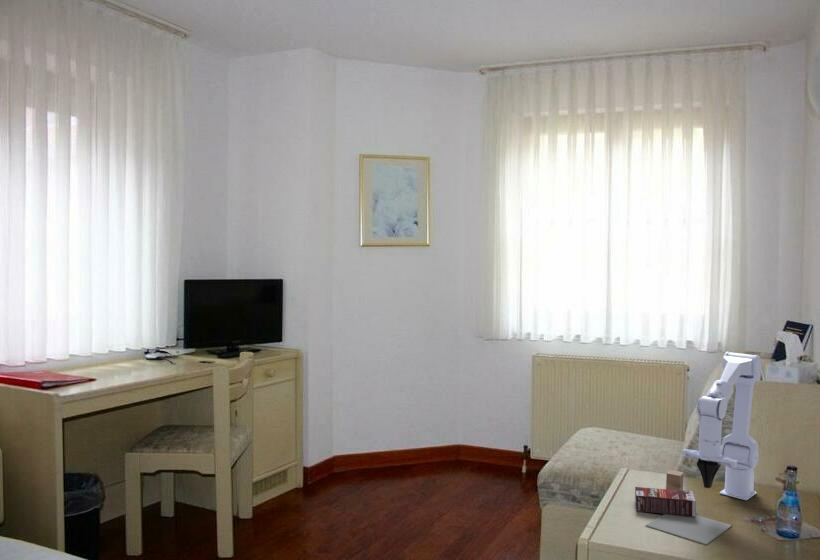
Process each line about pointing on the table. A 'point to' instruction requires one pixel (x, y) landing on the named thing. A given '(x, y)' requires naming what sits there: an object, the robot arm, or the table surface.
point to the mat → (690, 527)
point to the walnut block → (674, 480)
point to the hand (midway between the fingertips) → (707, 487)
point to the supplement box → (665, 501)
